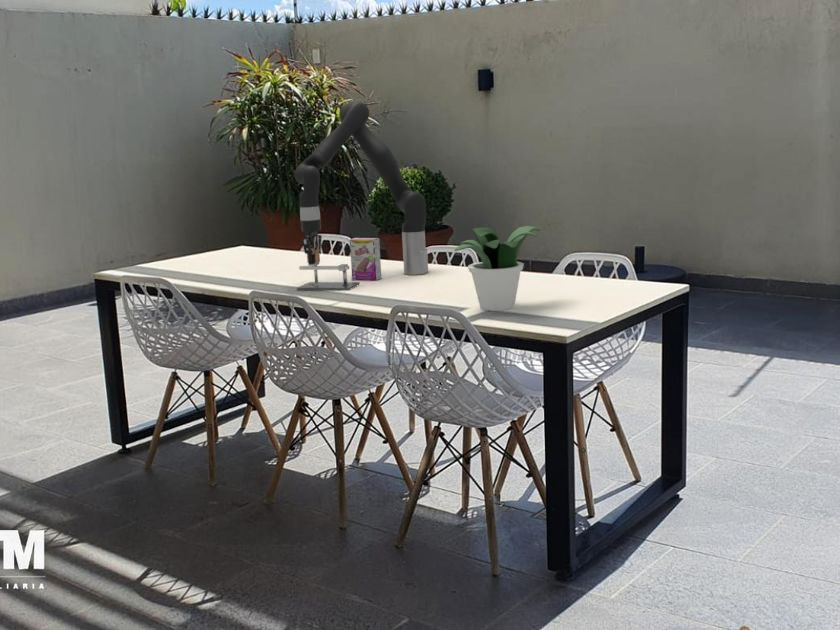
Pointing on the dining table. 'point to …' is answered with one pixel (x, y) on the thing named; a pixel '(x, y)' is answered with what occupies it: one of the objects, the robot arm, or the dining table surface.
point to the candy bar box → (365, 258)
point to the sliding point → (316, 260)
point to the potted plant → (496, 267)
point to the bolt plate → (328, 285)
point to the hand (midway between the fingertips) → (313, 263)
